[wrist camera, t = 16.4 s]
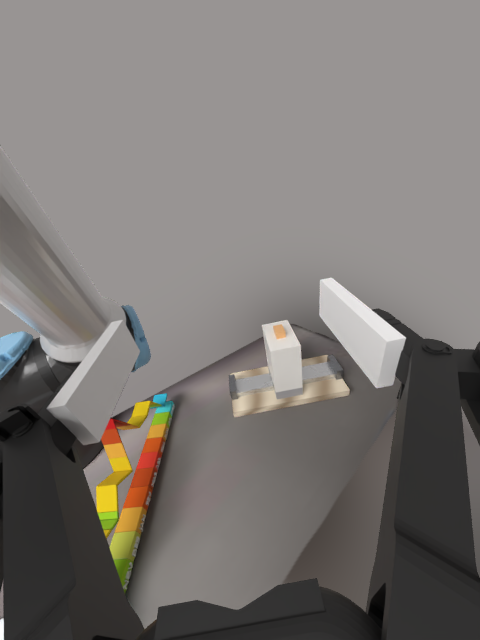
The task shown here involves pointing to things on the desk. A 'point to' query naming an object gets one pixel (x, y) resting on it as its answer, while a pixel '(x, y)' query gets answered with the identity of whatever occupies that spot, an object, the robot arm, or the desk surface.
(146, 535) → the desk surface
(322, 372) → the steel rail
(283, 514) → the desk surface
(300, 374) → the breaker module
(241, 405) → the rail board
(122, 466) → the chart
